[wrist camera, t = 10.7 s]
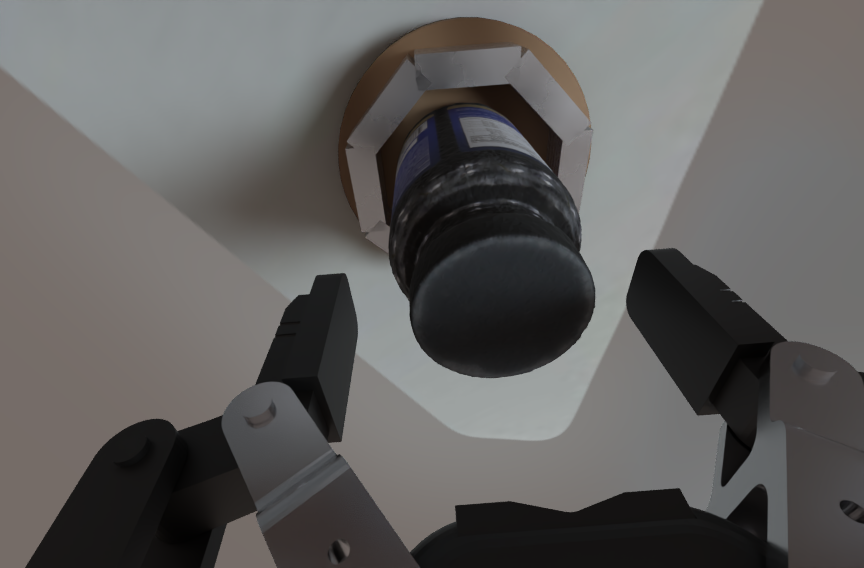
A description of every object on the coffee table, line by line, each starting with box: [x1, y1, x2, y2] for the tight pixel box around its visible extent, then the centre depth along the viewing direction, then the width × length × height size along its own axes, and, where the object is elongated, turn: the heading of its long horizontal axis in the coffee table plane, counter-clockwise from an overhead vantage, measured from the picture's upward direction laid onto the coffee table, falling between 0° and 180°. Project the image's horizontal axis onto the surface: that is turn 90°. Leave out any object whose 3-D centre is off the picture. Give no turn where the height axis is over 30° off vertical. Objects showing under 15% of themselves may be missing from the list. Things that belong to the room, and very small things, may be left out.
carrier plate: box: [338, 17, 593, 254], centre depth 19 cm, size 12×12×4 cm
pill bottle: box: [388, 103, 595, 378], centre depth 14 cm, size 6×6×11 cm
